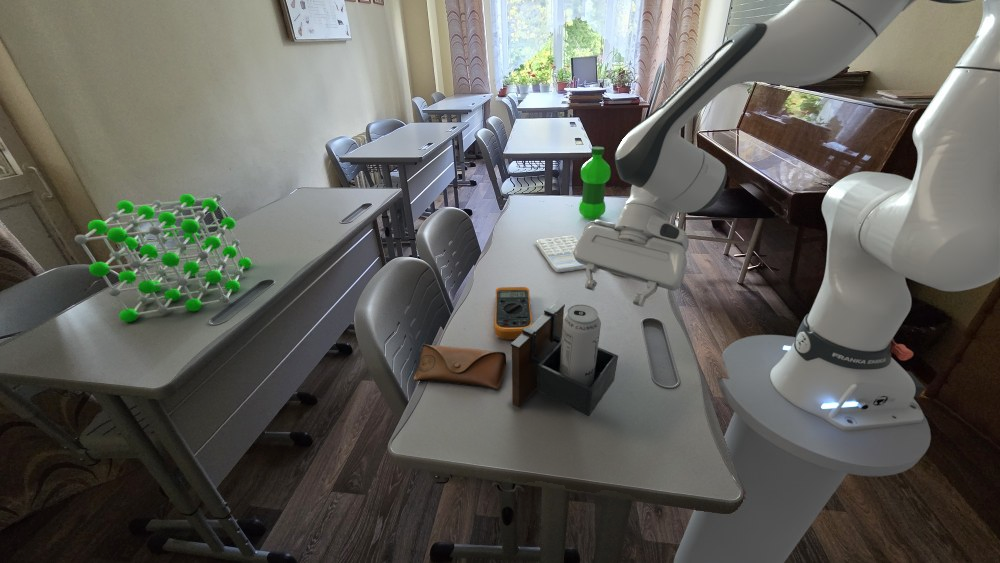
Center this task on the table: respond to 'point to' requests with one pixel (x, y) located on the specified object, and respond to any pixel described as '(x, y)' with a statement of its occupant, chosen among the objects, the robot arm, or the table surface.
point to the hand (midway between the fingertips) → (612, 296)
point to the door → (521, 354)
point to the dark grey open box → (566, 387)
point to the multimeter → (512, 312)
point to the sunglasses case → (461, 366)
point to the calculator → (560, 253)
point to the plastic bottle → (594, 185)
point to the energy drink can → (580, 343)
